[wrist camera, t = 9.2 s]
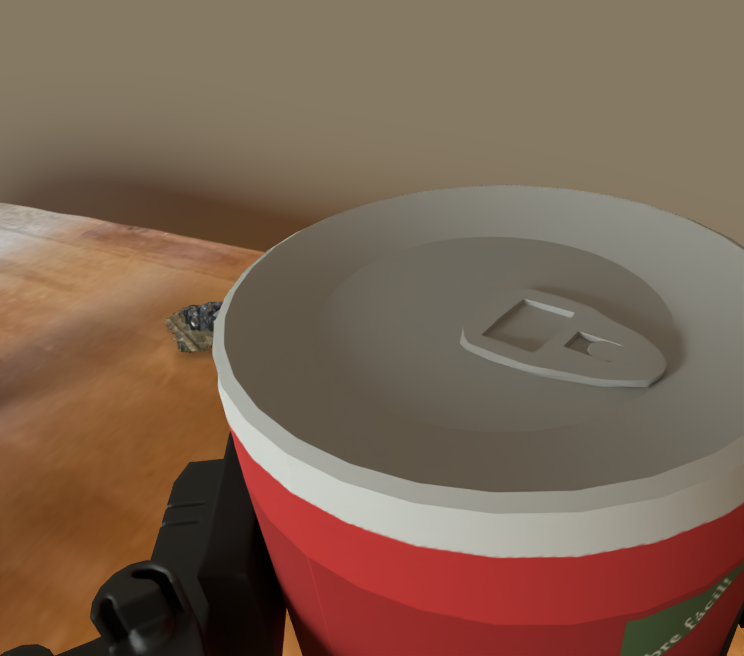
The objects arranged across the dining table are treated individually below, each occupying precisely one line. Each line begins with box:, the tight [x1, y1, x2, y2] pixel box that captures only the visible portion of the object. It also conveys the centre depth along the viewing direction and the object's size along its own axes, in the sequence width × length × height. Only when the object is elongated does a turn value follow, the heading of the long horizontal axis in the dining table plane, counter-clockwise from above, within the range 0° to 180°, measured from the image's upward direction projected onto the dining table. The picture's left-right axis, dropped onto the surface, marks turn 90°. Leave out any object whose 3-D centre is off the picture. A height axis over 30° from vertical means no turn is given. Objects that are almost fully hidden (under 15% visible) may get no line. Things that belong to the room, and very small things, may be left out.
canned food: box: [212, 186, 744, 656], centre depth 12 cm, size 8×8×11 cm
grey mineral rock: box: [165, 302, 223, 352], centre depth 48 cm, size 7×8×2 cm
